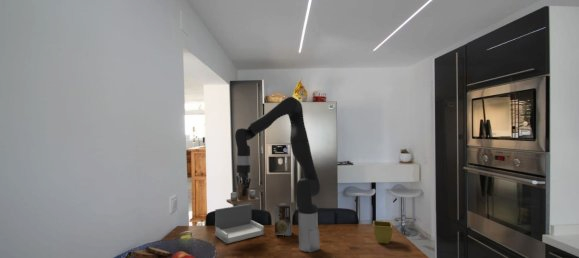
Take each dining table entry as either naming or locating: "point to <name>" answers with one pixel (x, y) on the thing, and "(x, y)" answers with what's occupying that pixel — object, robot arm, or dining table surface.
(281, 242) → the dining table surface
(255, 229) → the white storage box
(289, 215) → the coffee box
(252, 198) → the tray
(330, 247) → the dining table surface
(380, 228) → the flower pot
